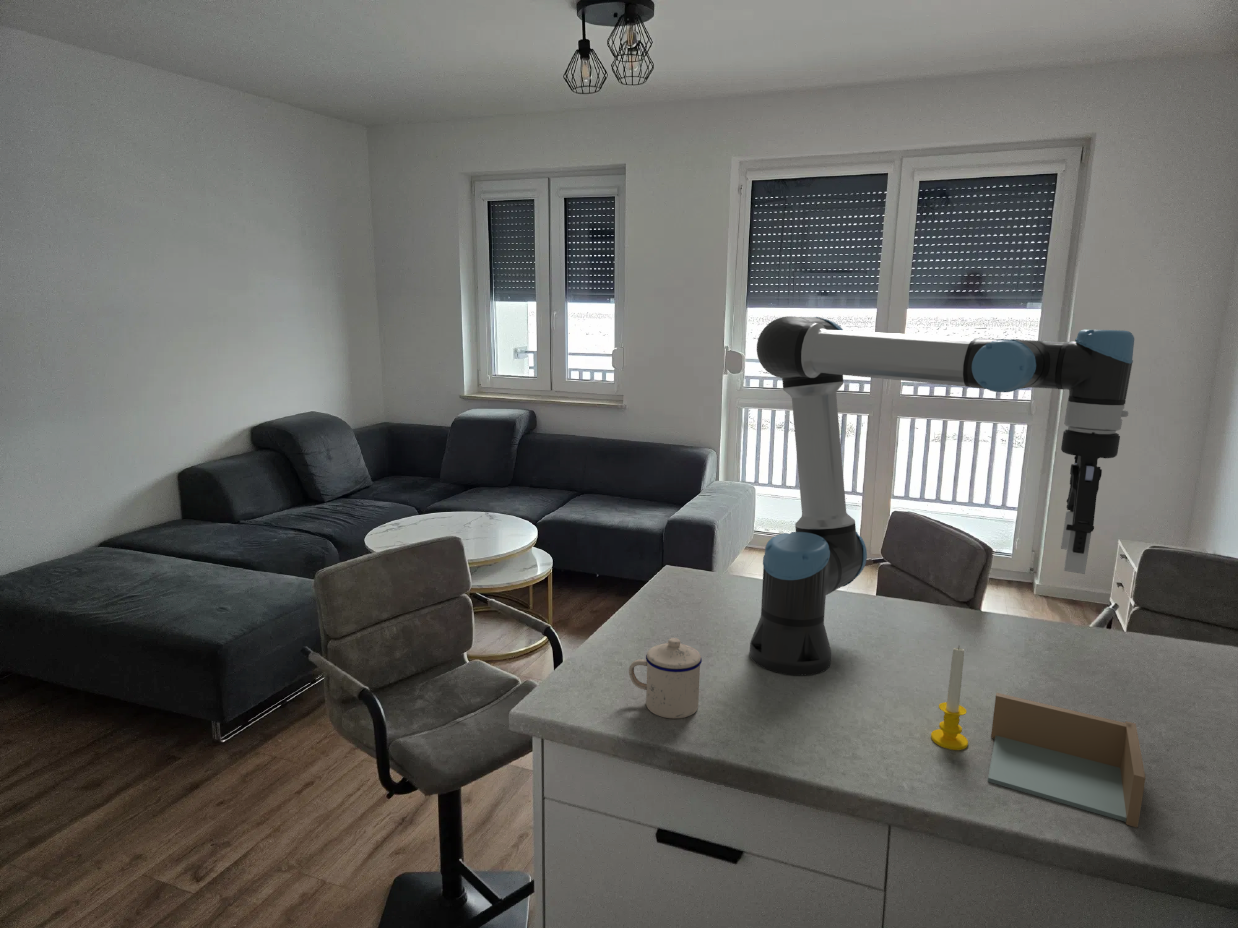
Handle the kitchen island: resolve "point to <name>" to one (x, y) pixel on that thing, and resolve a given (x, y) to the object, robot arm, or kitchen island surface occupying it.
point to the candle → (952, 709)
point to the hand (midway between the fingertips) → (1072, 560)
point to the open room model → (1068, 757)
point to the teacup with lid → (670, 679)
